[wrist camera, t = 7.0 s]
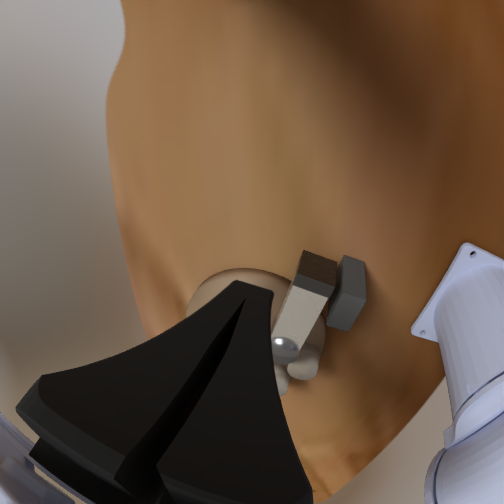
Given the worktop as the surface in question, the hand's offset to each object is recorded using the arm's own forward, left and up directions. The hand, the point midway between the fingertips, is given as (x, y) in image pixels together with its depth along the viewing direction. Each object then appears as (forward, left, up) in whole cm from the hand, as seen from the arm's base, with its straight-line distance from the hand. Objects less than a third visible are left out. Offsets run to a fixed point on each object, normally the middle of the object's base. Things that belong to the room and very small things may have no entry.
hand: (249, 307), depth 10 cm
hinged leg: (-2, +5, -8) cm, 10 cm away
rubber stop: (-5, +3, -9) cm, 11 cm away
